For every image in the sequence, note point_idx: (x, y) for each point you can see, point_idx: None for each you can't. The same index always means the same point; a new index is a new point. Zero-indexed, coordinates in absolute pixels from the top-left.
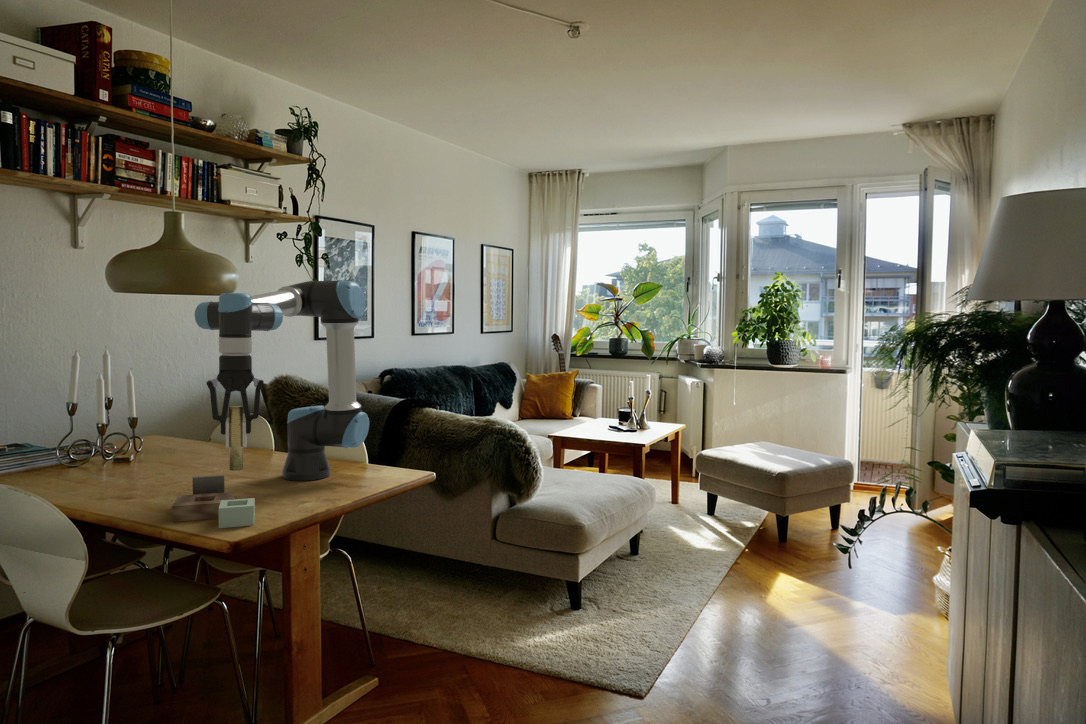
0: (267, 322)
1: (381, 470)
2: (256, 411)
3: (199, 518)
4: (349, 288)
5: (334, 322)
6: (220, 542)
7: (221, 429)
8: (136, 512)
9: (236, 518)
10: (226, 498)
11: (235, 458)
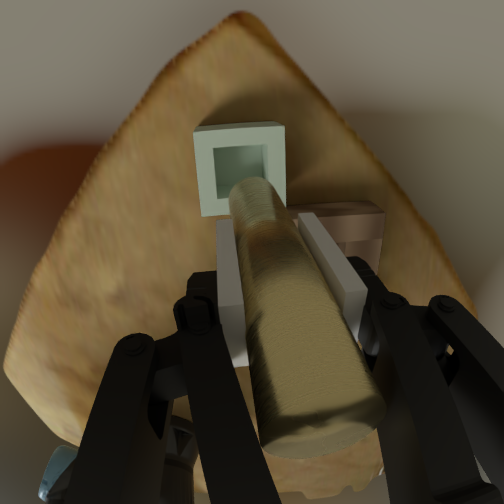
0: None
1: (63, 429)
2: (120, 381)
3: (322, 204)
4: None
5: None
6: (257, 21)
7: (370, 271)
8: (418, 281)
9: (236, 125)
10: None
11: (260, 191)
